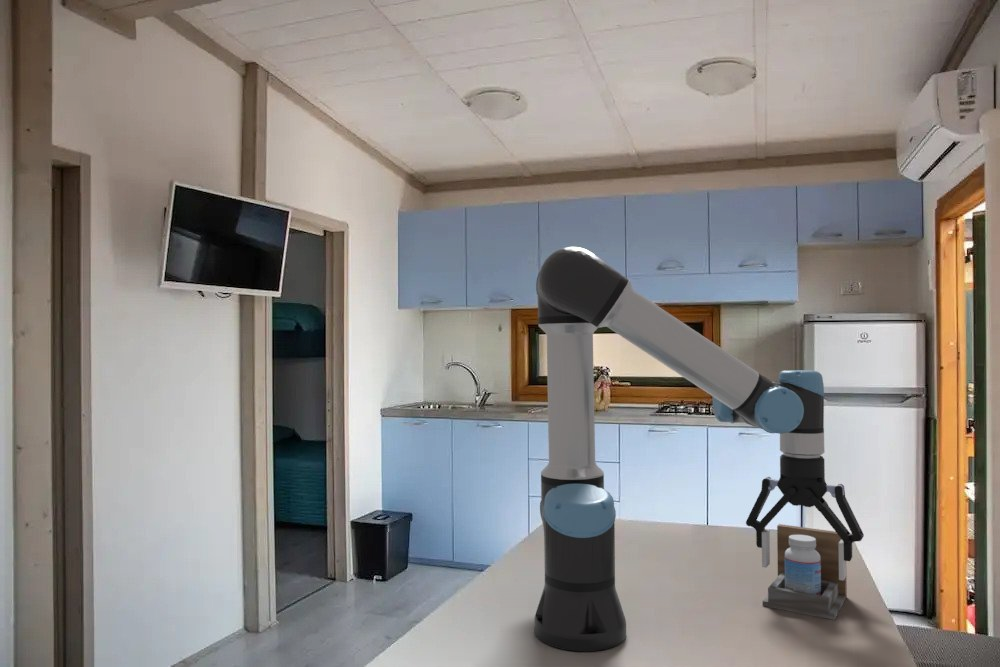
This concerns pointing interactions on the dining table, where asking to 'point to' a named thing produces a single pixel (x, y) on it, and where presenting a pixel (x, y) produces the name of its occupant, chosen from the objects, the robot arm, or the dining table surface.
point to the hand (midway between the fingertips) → (803, 571)
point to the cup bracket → (830, 583)
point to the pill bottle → (803, 565)
